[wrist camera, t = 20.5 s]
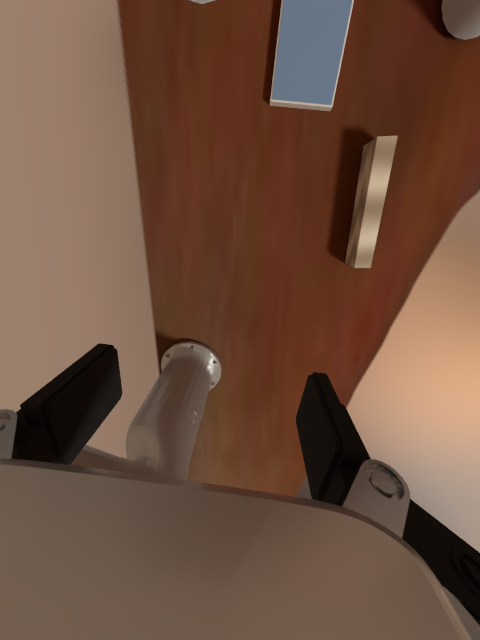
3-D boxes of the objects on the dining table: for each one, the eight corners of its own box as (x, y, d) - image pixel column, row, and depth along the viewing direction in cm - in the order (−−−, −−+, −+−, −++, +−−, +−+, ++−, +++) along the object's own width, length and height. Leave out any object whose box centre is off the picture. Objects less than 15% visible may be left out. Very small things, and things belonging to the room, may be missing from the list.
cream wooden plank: (359, 263, 38) (370, 267, 34) (344, 263, 38) (354, 268, 34) (380, 145, 31) (397, 135, 28) (362, 146, 31) (377, 136, 28)
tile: (332, 106, 29) (356, -11, 25) (270, 100, 29) (283, -18, 25) (328, 112, 30) (350, 3, 26) (269, 107, 30) (282, -3, 26)
